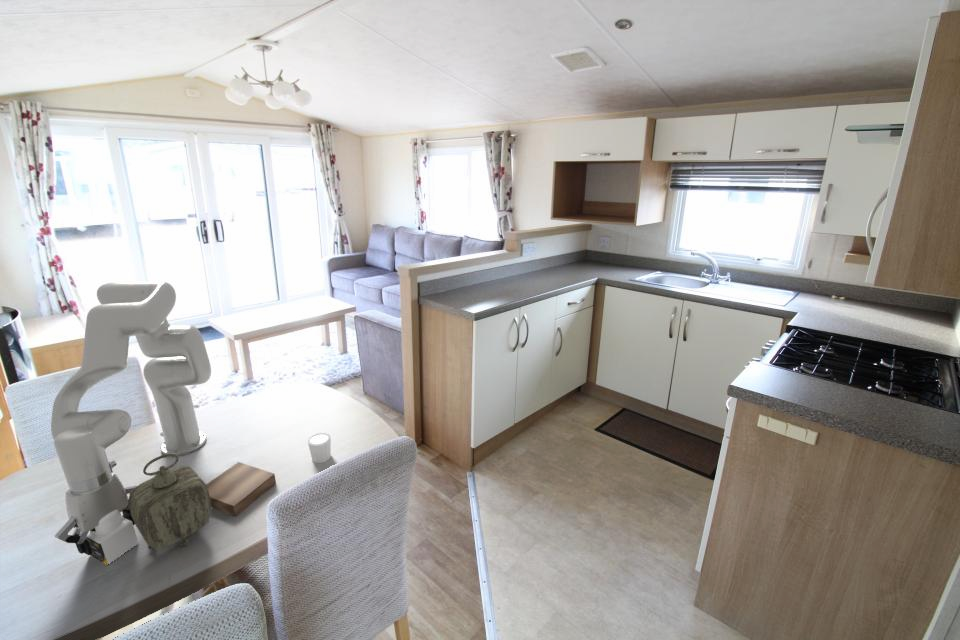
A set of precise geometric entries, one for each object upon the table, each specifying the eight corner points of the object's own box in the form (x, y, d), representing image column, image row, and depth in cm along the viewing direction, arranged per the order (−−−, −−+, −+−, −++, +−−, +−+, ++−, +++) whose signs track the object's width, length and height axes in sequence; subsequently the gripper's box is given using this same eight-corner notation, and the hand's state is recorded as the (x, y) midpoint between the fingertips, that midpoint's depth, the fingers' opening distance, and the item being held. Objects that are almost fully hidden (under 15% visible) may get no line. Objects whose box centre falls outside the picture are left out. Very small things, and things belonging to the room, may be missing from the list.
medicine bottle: (88, 556, 106) (74, 516, 102) (121, 534, 113) (108, 496, 109) (107, 566, 104) (93, 526, 100) (139, 543, 110) (127, 504, 106)
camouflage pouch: (206, 515, 119) (187, 436, 111) (220, 533, 114) (201, 450, 105) (141, 549, 108) (115, 464, 100) (154, 570, 103) (127, 482, 95)
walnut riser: (198, 502, 124) (195, 491, 122) (240, 471, 136) (238, 461, 135) (235, 516, 119) (233, 506, 118) (276, 483, 131) (274, 473, 130)
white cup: (325, 465, 139) (323, 446, 137) (305, 462, 141) (303, 443, 138) (336, 452, 146) (334, 434, 143) (317, 449, 147) (315, 431, 145)
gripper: (120, 452, 110) (136, 508, 116) (33, 498, 95) (56, 560, 100) (140, 460, 107) (156, 516, 113) (54, 508, 92) (77, 571, 98)
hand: (109, 537), depth 107 cm, fingers open, 9 cm apart
